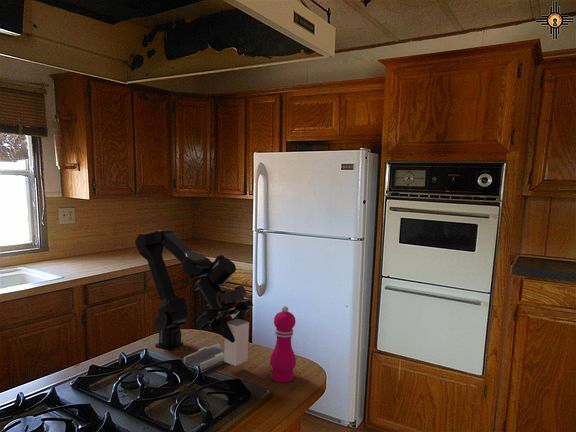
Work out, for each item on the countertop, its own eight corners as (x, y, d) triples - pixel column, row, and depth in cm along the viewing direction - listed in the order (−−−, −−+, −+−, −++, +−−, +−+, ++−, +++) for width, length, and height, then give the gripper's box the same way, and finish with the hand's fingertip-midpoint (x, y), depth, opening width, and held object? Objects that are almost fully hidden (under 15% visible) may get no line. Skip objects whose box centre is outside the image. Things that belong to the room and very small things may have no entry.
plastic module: (223, 361, 111) (225, 322, 110) (235, 355, 115) (237, 318, 114) (235, 365, 108) (237, 325, 108) (247, 360, 112) (249, 321, 112)
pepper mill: (298, 381, 107) (302, 309, 106) (273, 384, 104) (276, 310, 103) (290, 370, 113) (293, 302, 112) (266, 372, 111) (269, 303, 110)
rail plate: (183, 365, 114) (183, 355, 114) (217, 350, 125) (218, 341, 125) (202, 373, 109) (202, 362, 109) (236, 357, 121) (236, 347, 121)
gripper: (204, 282, 105) (233, 332, 99) (249, 273, 120) (277, 316, 115) (183, 305, 110) (210, 354, 104) (229, 293, 125) (255, 336, 120)
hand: (240, 339), depth 111 cm, fingers closed on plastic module, 5 cm apart
